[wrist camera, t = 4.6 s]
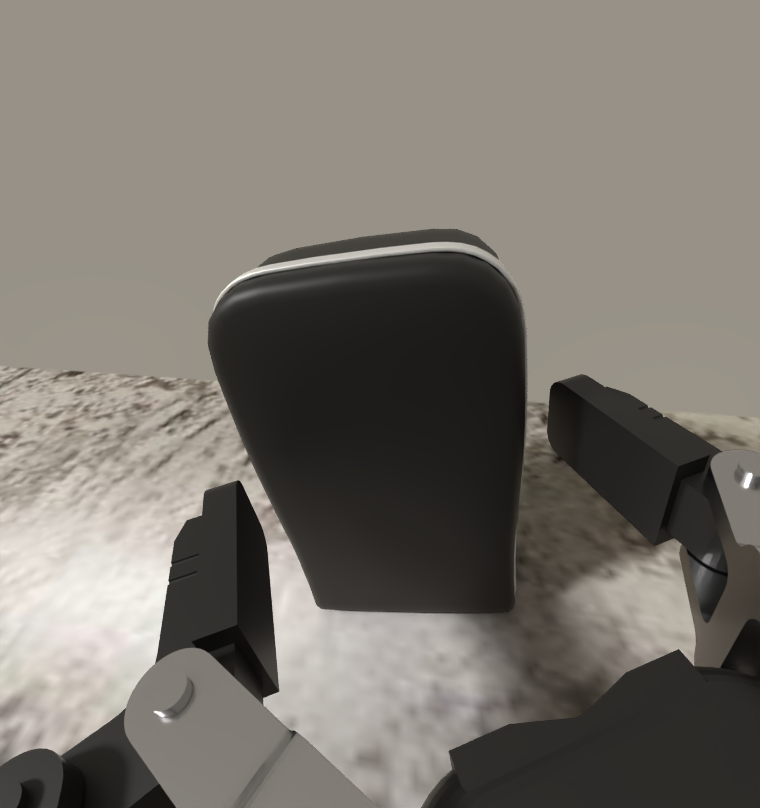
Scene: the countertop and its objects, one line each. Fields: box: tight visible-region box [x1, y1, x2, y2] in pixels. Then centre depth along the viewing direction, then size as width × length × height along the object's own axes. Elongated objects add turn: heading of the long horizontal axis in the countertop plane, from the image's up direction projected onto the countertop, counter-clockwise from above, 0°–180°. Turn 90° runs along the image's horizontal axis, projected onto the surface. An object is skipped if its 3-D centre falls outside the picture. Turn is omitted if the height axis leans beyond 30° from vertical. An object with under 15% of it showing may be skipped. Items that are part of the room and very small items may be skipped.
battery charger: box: [208, 229, 527, 613], centre depth 12 cm, size 7×4×11 cm, turn 84°
